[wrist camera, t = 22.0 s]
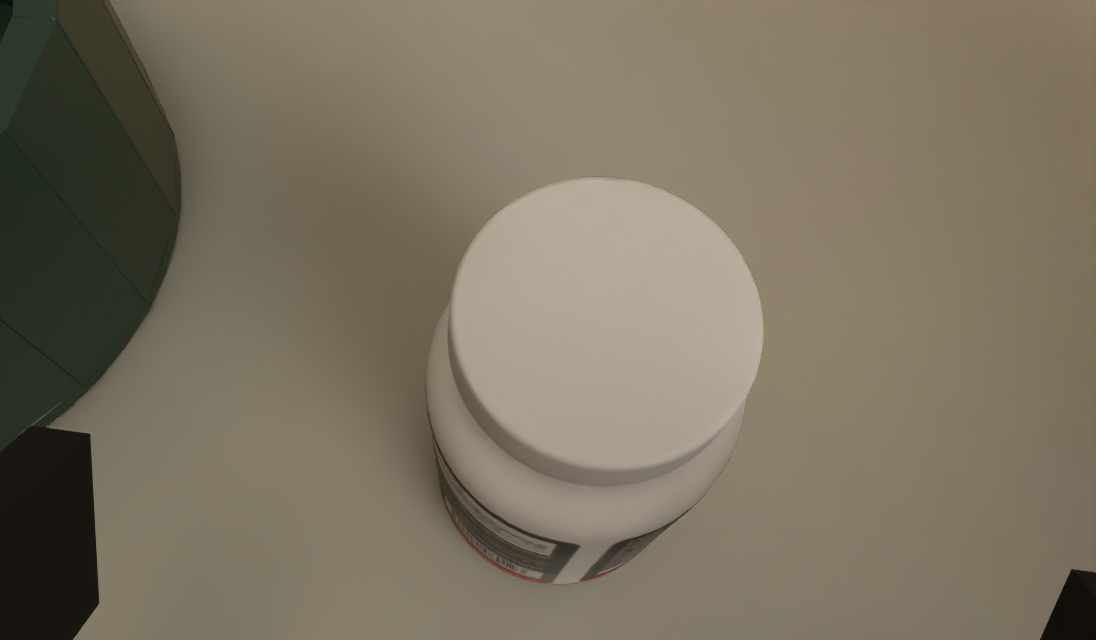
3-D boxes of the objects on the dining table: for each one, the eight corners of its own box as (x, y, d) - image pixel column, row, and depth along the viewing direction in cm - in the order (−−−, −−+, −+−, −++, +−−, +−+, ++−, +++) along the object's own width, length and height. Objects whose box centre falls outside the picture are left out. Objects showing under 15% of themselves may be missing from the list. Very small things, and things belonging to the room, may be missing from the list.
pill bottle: (646, 349, 24) (759, 133, 14) (688, 570, 21) (852, 480, 12) (427, 372, 23) (400, 159, 14) (449, 603, 21) (434, 533, 12)
